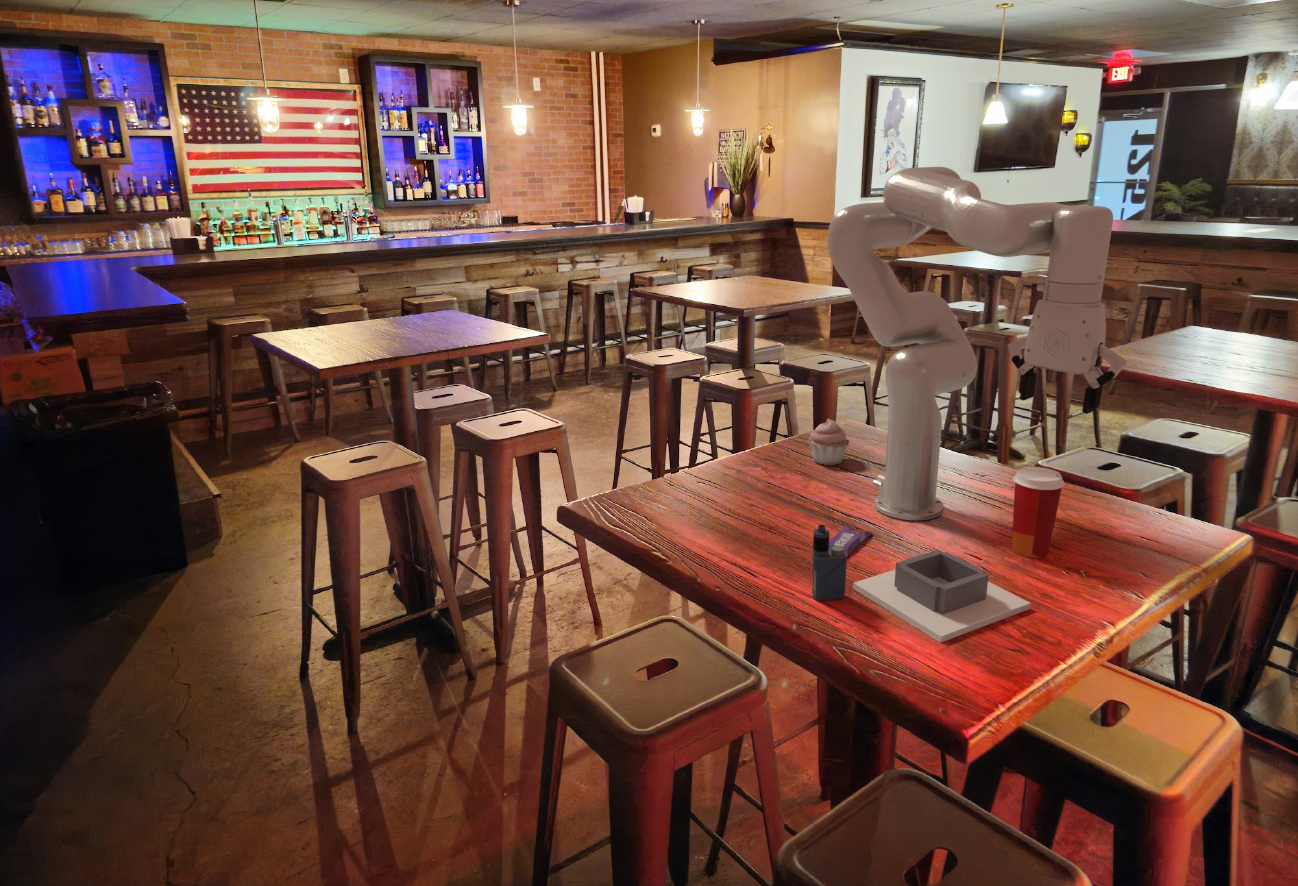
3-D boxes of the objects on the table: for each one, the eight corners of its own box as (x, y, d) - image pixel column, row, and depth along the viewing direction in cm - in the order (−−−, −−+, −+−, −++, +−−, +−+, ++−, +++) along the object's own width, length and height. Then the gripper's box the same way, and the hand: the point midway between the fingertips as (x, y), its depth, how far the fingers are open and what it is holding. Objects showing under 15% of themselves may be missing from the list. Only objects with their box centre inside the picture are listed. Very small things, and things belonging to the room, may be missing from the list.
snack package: (846, 551, 138) (819, 545, 141) (846, 562, 139) (818, 555, 142) (873, 527, 147) (847, 521, 150) (873, 537, 148) (847, 531, 150)
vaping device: (808, 593, 128) (811, 523, 124) (841, 591, 128) (845, 520, 125) (813, 601, 126) (815, 530, 122) (847, 599, 126) (850, 527, 122)
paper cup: (1052, 543, 142) (1062, 467, 137) (1057, 563, 135) (1068, 484, 130) (1003, 538, 144) (1011, 463, 140) (1005, 557, 137) (1014, 479, 133)
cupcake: (804, 454, 189) (806, 412, 186) (846, 454, 188) (848, 412, 185) (808, 468, 180) (809, 424, 177) (851, 468, 179) (853, 424, 176)
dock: (853, 588, 129) (854, 559, 127) (937, 561, 137) (939, 534, 135) (940, 642, 114) (943, 610, 112) (1029, 609, 122) (1033, 578, 120)
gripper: (1003, 290, 125) (991, 398, 131) (1123, 303, 112) (1104, 422, 118) (1028, 284, 130) (1015, 389, 135) (1146, 296, 117) (1127, 412, 122)
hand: (1057, 405), depth 127 cm, fingers open, 9 cm apart
